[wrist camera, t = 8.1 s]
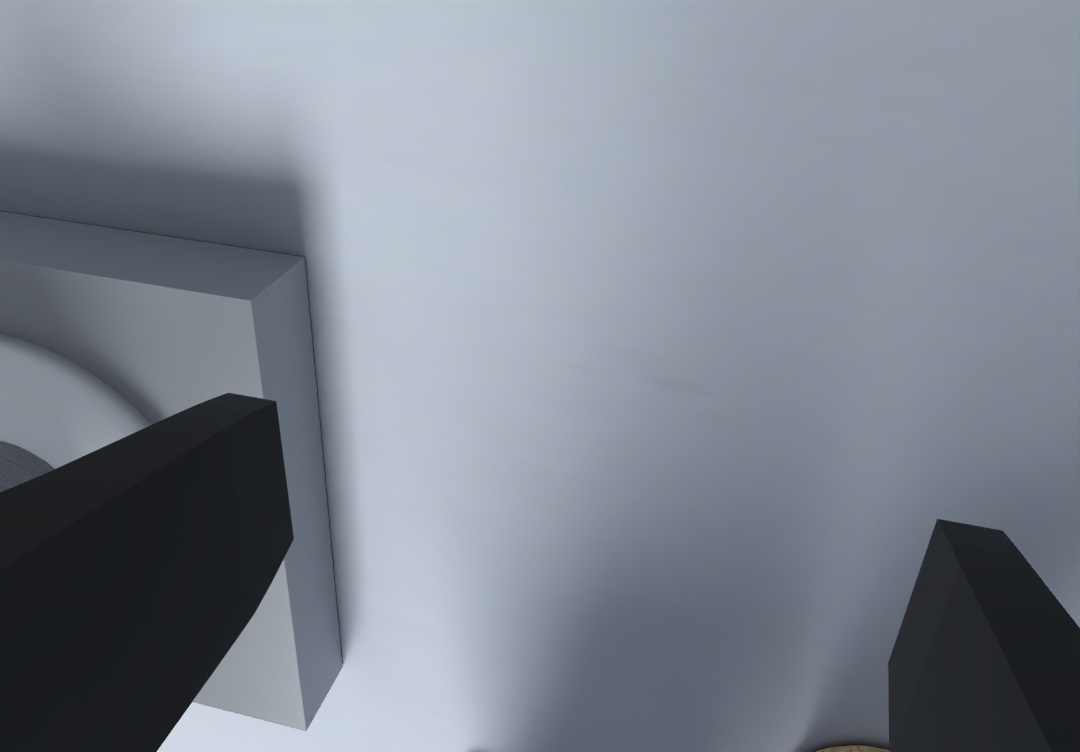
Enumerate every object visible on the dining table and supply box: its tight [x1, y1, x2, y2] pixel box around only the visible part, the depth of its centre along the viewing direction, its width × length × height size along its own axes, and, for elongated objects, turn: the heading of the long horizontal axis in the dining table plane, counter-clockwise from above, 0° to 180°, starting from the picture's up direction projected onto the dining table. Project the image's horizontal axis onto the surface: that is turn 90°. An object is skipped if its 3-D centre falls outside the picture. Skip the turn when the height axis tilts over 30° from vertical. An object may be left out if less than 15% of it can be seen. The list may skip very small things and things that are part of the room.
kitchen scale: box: [0, 211, 343, 731], centre depth 25 cm, size 14×15×5 cm
